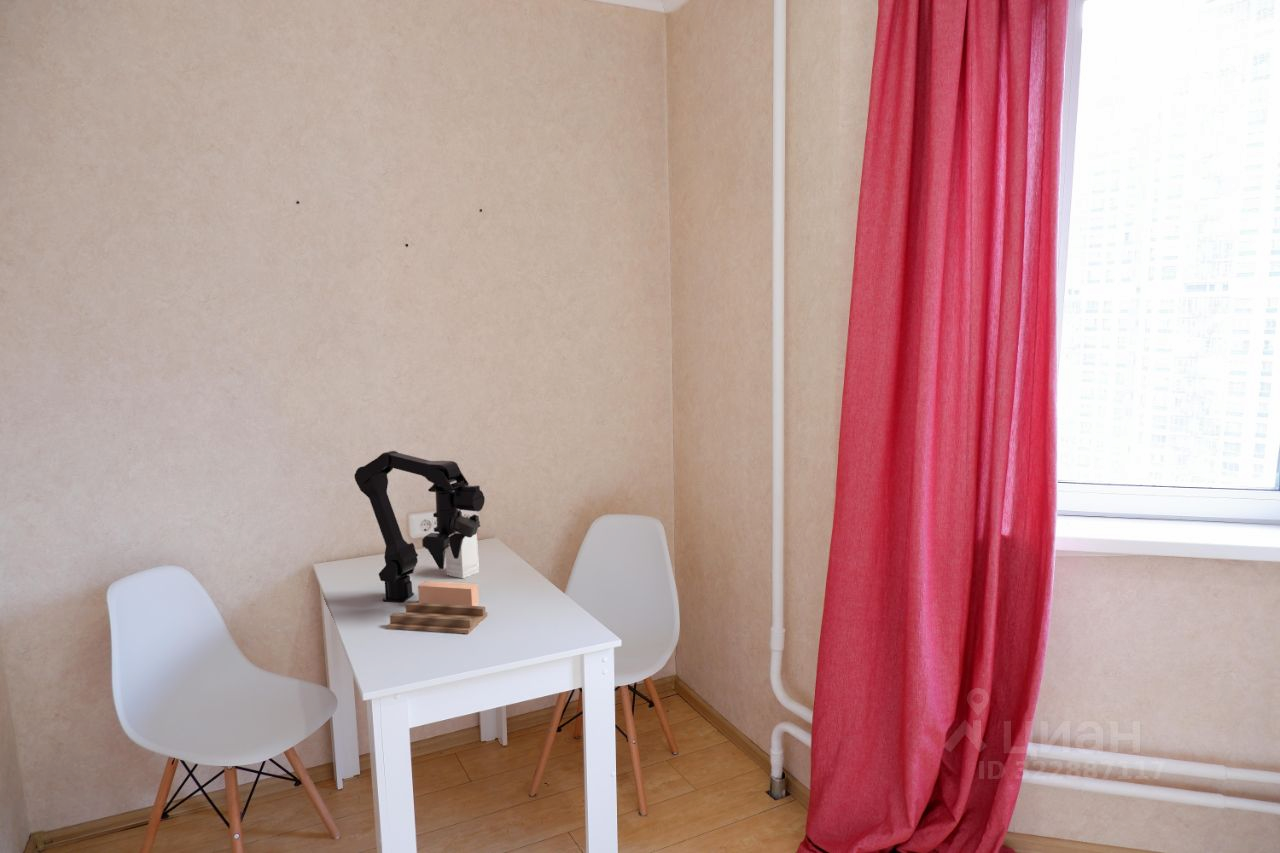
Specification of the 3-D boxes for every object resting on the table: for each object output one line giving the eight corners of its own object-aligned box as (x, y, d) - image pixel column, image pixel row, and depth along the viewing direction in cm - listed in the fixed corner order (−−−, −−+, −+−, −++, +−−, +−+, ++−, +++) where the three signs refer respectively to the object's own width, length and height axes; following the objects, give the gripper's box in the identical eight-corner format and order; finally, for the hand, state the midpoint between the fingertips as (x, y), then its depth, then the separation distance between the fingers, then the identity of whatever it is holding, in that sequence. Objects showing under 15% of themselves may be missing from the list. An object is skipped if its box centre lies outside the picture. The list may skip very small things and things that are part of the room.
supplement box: (480, 572, 236) (477, 533, 235) (462, 579, 230) (460, 538, 228) (463, 568, 240) (461, 530, 239) (445, 575, 234) (443, 535, 232)
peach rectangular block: (419, 606, 208) (417, 585, 207) (426, 601, 212) (425, 580, 211) (472, 610, 204) (471, 589, 204) (478, 605, 208) (477, 584, 207)
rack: (388, 628, 192) (387, 617, 192) (411, 611, 204) (410, 600, 204) (468, 633, 188) (467, 622, 187) (487, 615, 199) (487, 605, 199)
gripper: (460, 518, 194) (462, 576, 196) (488, 501, 212) (489, 555, 214) (420, 516, 196) (422, 573, 198) (451, 499, 214) (453, 552, 217)
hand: (448, 563), depth 207 cm, fingers open, 9 cm apart
